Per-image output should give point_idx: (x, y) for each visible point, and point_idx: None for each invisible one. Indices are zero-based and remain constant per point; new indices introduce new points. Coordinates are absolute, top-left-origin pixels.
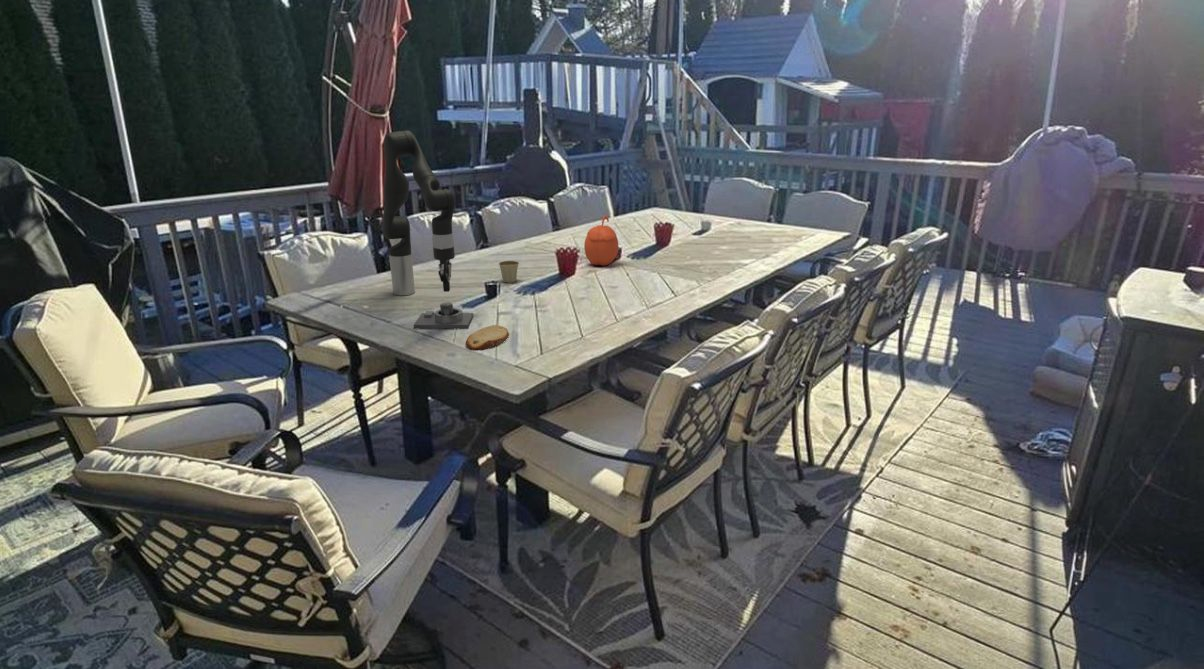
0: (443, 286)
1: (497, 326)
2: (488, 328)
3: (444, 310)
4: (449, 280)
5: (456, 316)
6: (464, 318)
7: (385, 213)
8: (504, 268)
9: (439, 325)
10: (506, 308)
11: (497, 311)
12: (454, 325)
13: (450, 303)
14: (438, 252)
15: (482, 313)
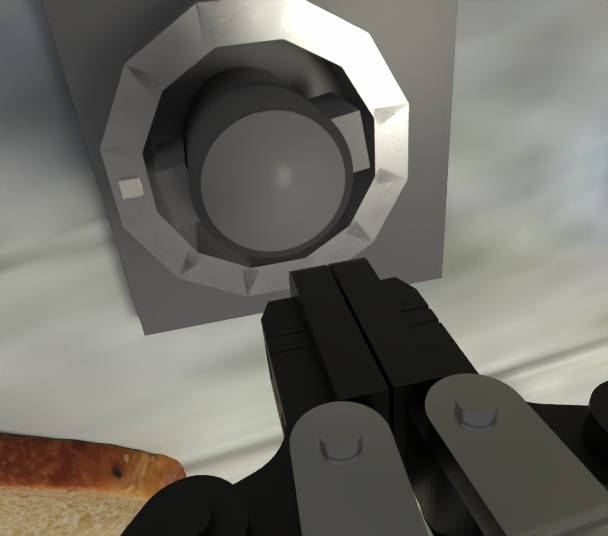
0: (309, 330)
1: None
2: (70, 498)
3: (159, 178)
4: (421, 510)
5: (177, 270)
6: None
7: None
8: None
9: (73, 93)
10: (571, 390)
11: (523, 365)
12: (114, 236)
13: (297, 231)
14: None
15: (493, 295)
